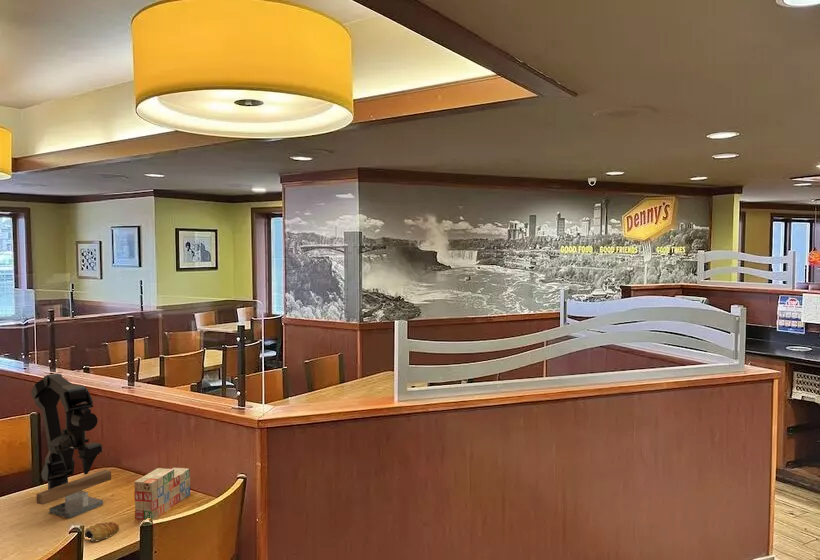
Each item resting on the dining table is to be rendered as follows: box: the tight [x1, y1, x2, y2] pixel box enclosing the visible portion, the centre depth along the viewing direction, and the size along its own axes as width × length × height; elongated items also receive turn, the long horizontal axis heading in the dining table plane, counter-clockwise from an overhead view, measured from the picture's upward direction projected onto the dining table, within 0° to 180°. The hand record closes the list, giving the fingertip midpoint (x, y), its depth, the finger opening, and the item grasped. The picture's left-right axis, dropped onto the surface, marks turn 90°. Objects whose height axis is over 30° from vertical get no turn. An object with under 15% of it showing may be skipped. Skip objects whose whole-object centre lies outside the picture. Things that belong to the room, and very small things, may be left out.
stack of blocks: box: [133, 467, 191, 521], centre depth 205 cm, size 21×6×12 cm, turn 167°
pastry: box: [84, 521, 120, 542], centre depth 184 cm, size 9×7×4 cm
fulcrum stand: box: [48, 490, 104, 519], centre depth 203 cm, size 10×12×6 cm
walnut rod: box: [35, 469, 112, 506], centre depth 203 cm, size 3×24×3 cm, turn 153°
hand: (76, 471), depth 204 cm, fingers open, 9 cm apart
